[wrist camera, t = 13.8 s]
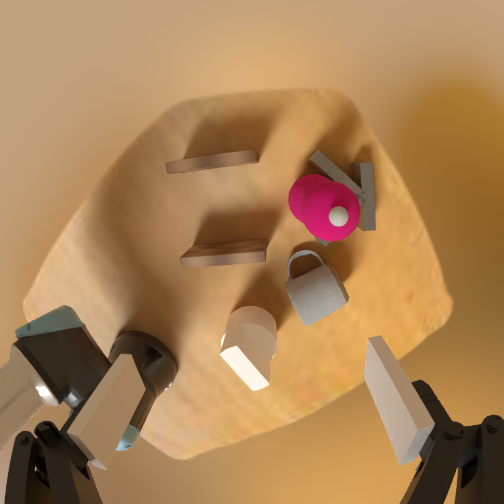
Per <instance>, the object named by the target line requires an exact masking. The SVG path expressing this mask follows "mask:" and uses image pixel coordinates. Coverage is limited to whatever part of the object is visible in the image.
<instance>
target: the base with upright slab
mask: <svg viewBox="0 0 504 504" xmlns="http://www.w3.org/2000/svg"><path fill="white" fill-rule="evenodd" d="M221 347H222V348H221V351H220V355H221V356H222V358H223V359H224V360H225V361H226V362H227V363H228V364H229V365H230V367H231V368H232V369H233V370H234V371H235V372H236V373H237V374H238V375H239V377H240V378H241V379H242V380H243V381H244V382H245V383H246V384H247V385H248V386H249V387H250V388H251V389H252V390H253V391H256V390H259V389H262V388H264V387H266V386H268V385H269V384H270V360H271V359H272V358H273V357H274V355H275V353H276V348H277V327H276V321H275V320H274V318H273V316H272V315H271V314H270V313H269V312H268V311H266V310H265V309H263V308H260V307H257V306H244V307H241V308H238V309H236V310H235V311H234V312H232V314H231V315H230V316H229V318H228V321H227V324H226V327H225V331H224V334H223V337H222V341H221Z"/></svg>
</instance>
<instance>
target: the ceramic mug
mask: <svg viewBox="0 0 504 504" xmlns="http://www.w3.org/2000/svg"><path fill="white" fill-rule="evenodd" d="M308 254H313V255H315V256H316V257H317V258H318V259H319V261H320V262H321V266H320V267H318V268H316V269H314V270H311V271H310V272H308V273H306V274H303V275H301V276H298V277H296V278H294V279H292V277H291V273H290V265H291V262H292V260H293V259H295V258H297V257H299V256H302V255H308ZM287 273H288V277H289V281H288V282H286V284H285V287H286V290H287V292H288V295H289V297H290V299H291V302H292V304H293V306H294V308H295V310H296V312H297V314H298V316H299V317H300V319H301V320H302V322H303V324H304V325H305V326H309V325H311V324H313V323H314V322H316V321H318V320H320V319H322V318H324V317H326V316H327V315H329V314H331V313H332V312H334V311H336V310H338V309H340V308H341V307H343V306H344V305H345V304H346V303H347V302H348V300H349V296H348V294H347V291H346V289H345V287H344V285H343V283H342V281H341V279H340V277H339V275H338V273H337V271H336V270H335V268H334V267H333V266H332V265H330V264H324V262H323V260H322V259H321V257H320V256H319V255H318V254H317V253H316V252H314V251H312V250H301V251H298V252H296V253H294V254H293V255H292V256H291V257H290V259H289V261H288V264H287Z"/></svg>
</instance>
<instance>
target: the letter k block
mask: <svg viewBox="0 0 504 504" xmlns="http://www.w3.org/2000/svg"><path fill="white" fill-rule="evenodd" d="M307 161H308V162H309V163H310V164H312V165H313V166H314V167H315V168H316V169H317V170H319V171H320V172H321V173H322V174H323V175H324V176H325V177H326V178H328V179H329V180H331V181H336V182H339V183H342V184H344V185H346V186H347V187H349V188H350V189H351V190H352V191H353V192H354V193H355V195H356V196H357V198H358V201H359V204H360V209H361V213H360V220H359V223H358V225H357V227H358V228H360V229H361V230H363V231H369V230H376V223H375V191H374V174H373V162H371V163H352V165H353V178H354V182H353V181H352V180H351V179H350V178H349V177H348V176H347V175H346V174H345V173H344V172H343V171H342V170H341V169H339V168H338V167H337V166H336V165H335V164H334V163H333V162H332V161H331V160H329V159H328V158H327V157H326V156H325V155H324V154H323V153H321V152H320V151H319V150H318V151H316V152H314V153H313V154H312V155H311V157H310V158H309V159H308V160H307ZM315 238H316V239H317V240H318V241H319V242H320V243H321V244H322V245H324V246H325V247H326V246H327V245H328V244H329V243H330V242H331V241H325V240H321V239H319V238H317V237H316V236H315Z"/></svg>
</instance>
